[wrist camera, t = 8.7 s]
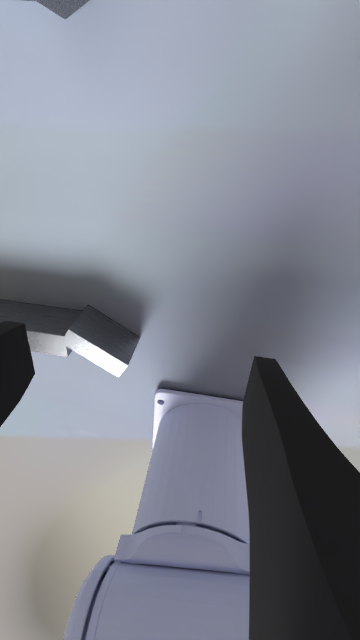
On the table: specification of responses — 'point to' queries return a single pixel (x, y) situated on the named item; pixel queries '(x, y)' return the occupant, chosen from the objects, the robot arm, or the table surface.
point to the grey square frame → (66, 324)
